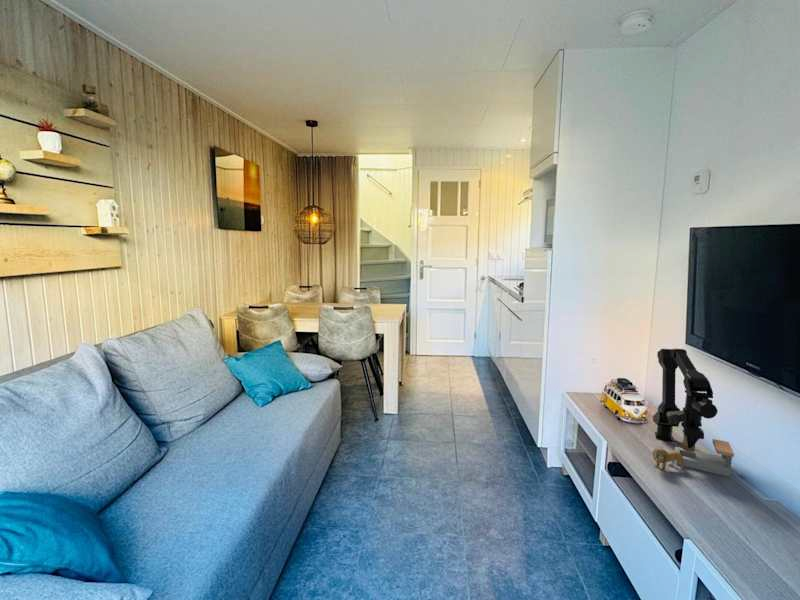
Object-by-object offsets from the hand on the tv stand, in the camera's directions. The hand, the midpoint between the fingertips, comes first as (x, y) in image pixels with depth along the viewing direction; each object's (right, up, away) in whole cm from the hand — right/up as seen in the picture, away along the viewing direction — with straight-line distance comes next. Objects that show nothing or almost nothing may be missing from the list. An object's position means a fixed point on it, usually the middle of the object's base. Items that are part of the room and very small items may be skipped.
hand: (688, 445), depth 168 cm
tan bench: (+9, -7, -4) cm, 12 cm away
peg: (0, -2, 0) cm, 2 cm away
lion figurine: (-12, -7, -5) cm, 15 cm away
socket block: (+4, -7, -2) cm, 8 cm away
